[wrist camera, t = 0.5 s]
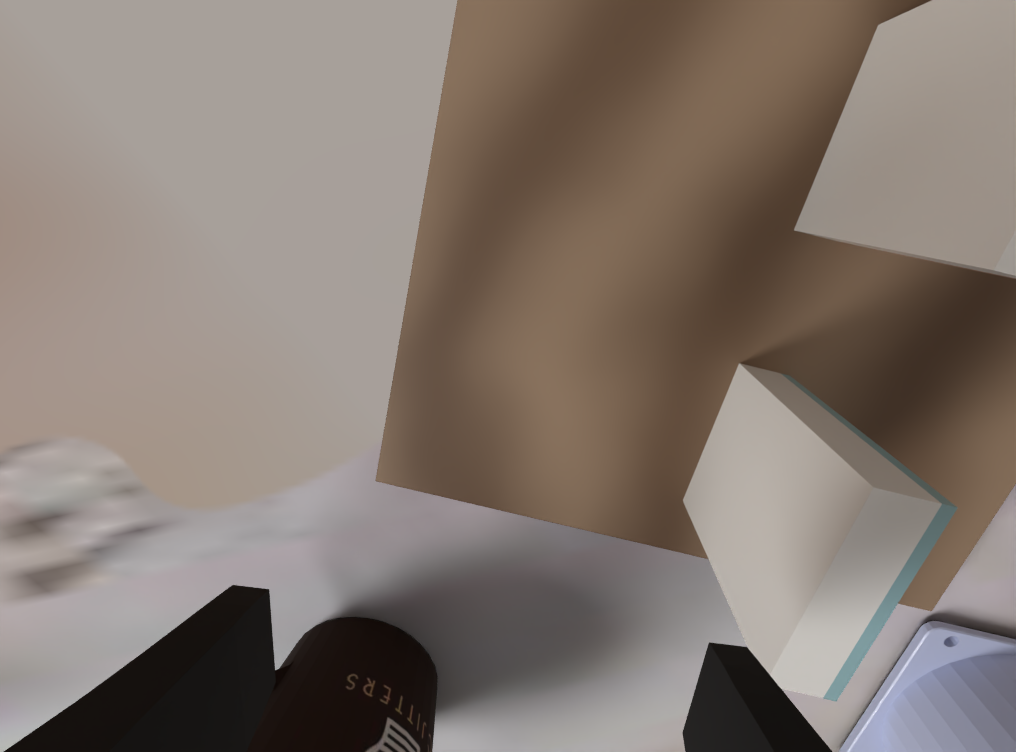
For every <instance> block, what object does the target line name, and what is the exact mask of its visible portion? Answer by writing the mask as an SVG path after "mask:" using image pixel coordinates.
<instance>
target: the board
mask: <svg viewBox="0 0 1016 752" xmlns="http://www.w3.org/2000/svg"><path fill="white" fill-rule="evenodd" d="M929 1H931V0H458V1H457V6H456V12H455V18H454V24H453V30H452V36H451V42H450V47H449V54H448V59H447V66H446V71H445V77H444V83H443V88H442V94H441V100H440V106H439V112H438V118H437V124H436V129H435V135H434V142H433V147H432V153H431V159H430V165H429V170H428V177H427V183H426V188H425V194H424V200H423V206H422V212H421V218H420V224H419V230H418V235H417V241H416V247H415V253H414V259H413V265H412V270H411V276H410V282H409V288H408V294H407V299H406V305H405V311H404V317H403V323H402V329H401V335H400V340H399V346H398V353H397V359H396V364H395V370H394V376H393V381H392V387H391V393H390V399H389V405H388V411H387V417H386V423H385V429H384V434H383V440H382V446H381V452H380V458H379V464H378V469H377V475H376V481H377V482H382V483H386V484H390V485H395V486H399V487H403V488H407V489H412V490H416V491H420V492H424V493H429V494H433V495H437V496H441V497H446V498H450V499H454V500H459V501H463V502H467V503H471V504H476V505H480V506H484V507H488V508H493V509H497V510H501V511H506V512H510V513H514V514H518V515H523V516H527V517H531V518H535V519H540V520H544V521H548V522H552V523H557V524H561V525H565V526H570V527H574V528H578V529H582V530H587V531H591V532H595V533H599V534H604V535H608V536H612V537H617V538H621V539H625V540H629V541H634V542H638V543H642V544H646V545H651V546H655V547H659V548H663V549H668V550H672V551H676V552H681V553H685V554H689V555H693V556H698V557H702V558H706V559H708V557H707V554H706V552H705V550H704V548H703V545H702V543H701V541H700V539H699V536H698V534H697V532H696V530H695V527H694V525H693V523H692V520H691V518H690V516H689V514H688V511H687V509H686V507H685V505H684V502H683V499H684V496H685V494H686V491H687V489H688V486H689V484H690V482H691V479H692V477H693V474H694V472H695V469H696V467H697V465H698V462H699V460H700V457H701V455H702V452H703V450H704V448H705V445H706V443H707V440H708V438H709V435H710V433H711V430H712V428H713V426H714V423H715V421H716V418H717V416H718V413H719V411H720V409H721V406H722V404H723V401H724V399H725V396H726V394H727V392H728V389H729V387H730V384H731V382H732V379H733V377H734V375H735V372H736V370H737V367H738V365H739V363H740V364H744V365H749V366H753V367H757V368H761V369H765V370H769V371H773V372H777V373H781V374H785V375H789V376H791V377H792V378H794V379H795V380H796V381H797V382H799V383H800V384H801V385H802V386H804V387H805V388H806V389H808V390H809V391H810V392H811V393H813V394H814V395H815V396H816V397H818V398H819V399H820V400H822V401H823V402H824V403H825V404H827V405H828V406H829V407H830V408H832V409H833V410H834V411H836V412H837V413H838V414H839V415H841V416H842V417H843V418H844V419H846V420H847V421H848V422H850V423H851V424H852V425H853V426H855V427H856V428H857V429H858V430H860V431H861V432H862V433H864V434H865V435H866V436H867V437H869V438H870V439H871V440H872V441H874V442H875V443H876V444H877V445H879V446H880V447H881V448H883V449H884V450H885V451H886V452H888V453H889V454H890V455H891V456H893V457H894V458H895V459H897V460H898V461H899V462H900V463H902V464H903V465H904V466H905V467H907V468H908V469H909V470H911V471H912V472H913V473H914V474H916V475H917V476H918V477H919V478H921V479H922V480H923V481H925V482H926V483H927V484H928V485H930V486H931V487H932V488H933V489H935V490H936V491H937V492H939V493H940V494H941V495H942V496H944V497H945V498H946V499H947V500H949V501H950V502H951V503H953V504H954V505H955V506H956V507H958V508H957V510H956V511H955V513H954V515H953V516H952V518H951V519H950V521H949V523H948V524H947V526H946V527H945V529H944V531H943V532H942V534H941V535H940V537H939V539H938V540H937V542H936V543H935V545H934V547H933V548H932V550H931V551H930V553H929V555H928V556H927V558H926V559H925V561H924V562H923V564H922V566H921V567H920V569H919V570H918V572H917V574H916V575H915V577H914V578H913V580H912V582H911V583H910V585H909V586H908V588H907V590H906V591H905V593H904V594H903V596H902V598H901V599H900V601H899V602H898V604H903V605H907V606H911V607H915V608H920V609H924V610H928V611H932V610H933V608H934V607H935V605H936V604H937V602H938V601H939V599H940V598H941V596H942V595H943V593H944V592H945V590H946V589H947V587H948V586H949V584H950V583H951V581H952V580H953V578H954V577H955V575H956V574H957V572H958V571H959V569H960V567H961V566H962V564H963V563H964V561H965V560H966V558H967V557H968V555H969V554H970V552H971V551H972V549H973V548H974V546H975V545H976V543H977V542H978V540H979V539H980V537H981V536H982V534H983V533H984V531H985V530H986V528H987V527H988V525H989V524H990V522H991V521H992V519H993V517H994V516H995V514H996V513H997V511H998V510H999V508H1000V507H1001V505H1002V504H1003V502H1004V501H1005V499H1006V498H1007V496H1008V495H1009V493H1010V492H1011V490H1012V489H1013V487H1014V486H1015V484H1016V279H1013V278H1008V277H1003V276H998V275H993V274H989V273H984V272H979V271H974V270H970V269H965V268H960V267H955V266H950V265H946V264H941V263H936V262H931V261H927V260H922V259H917V258H912V257H907V256H903V255H898V254H893V253H888V252H884V251H879V250H874V249H869V248H865V247H860V246H855V245H850V244H846V243H842V242H838V241H834V240H830V239H826V238H822V237H818V236H814V235H810V234H806V233H802V232H798V231H794V229H795V226H796V224H797V221H798V219H799V216H800V214H801V211H802V209H803V207H804V204H805V202H806V199H807V197H808V194H809V192H810V190H811V187H812V185H813V182H814V180H815V177H816V175H817V173H818V170H819V168H820V165H821V163H822V160H823V158H824V156H825V153H826V151H827V148H828V146H829V143H830V141H831V138H832V136H833V134H834V131H835V129H836V126H837V124H838V121H839V119H840V117H841V114H842V112H843V109H844V107H845V104H846V102H847V100H848V97H849V95H850V92H851V90H852V87H853V85H854V83H855V80H856V78H857V75H858V73H859V70H860V68H861V65H862V63H863V61H864V58H865V56H866V53H867V51H868V48H869V46H870V44H871V41H872V39H873V36H874V34H875V31H876V29H877V27H878V25H879V24H881V23H883V22H886V21H888V20H890V19H892V18H894V17H896V16H899V15H901V14H903V13H905V12H907V11H910V10H912V9H914V8H916V7H918V6H920V5H923V4H925V3H927V2H929Z"/></svg>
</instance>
